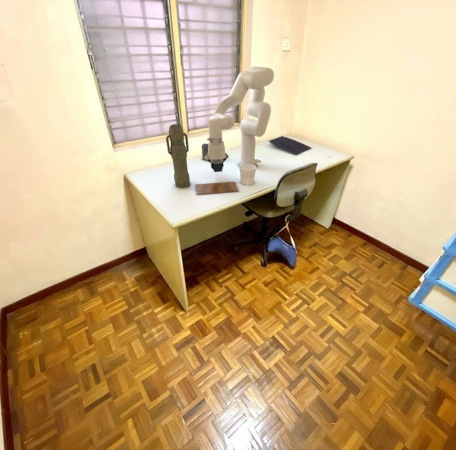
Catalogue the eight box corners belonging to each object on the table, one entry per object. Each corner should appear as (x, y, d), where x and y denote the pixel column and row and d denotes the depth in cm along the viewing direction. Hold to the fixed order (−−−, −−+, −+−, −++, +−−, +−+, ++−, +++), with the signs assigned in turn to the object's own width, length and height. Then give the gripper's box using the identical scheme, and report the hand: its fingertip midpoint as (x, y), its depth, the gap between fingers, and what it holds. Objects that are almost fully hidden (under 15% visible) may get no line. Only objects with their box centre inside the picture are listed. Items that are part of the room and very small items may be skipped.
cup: (254, 186, 153) (255, 171, 147) (238, 185, 154) (238, 170, 148) (256, 179, 161) (257, 164, 155) (240, 178, 162) (241, 163, 156)
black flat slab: (282, 138, 226) (283, 134, 223) (311, 150, 211) (312, 146, 209) (265, 144, 212) (266, 140, 209) (295, 158, 197) (296, 154, 195)
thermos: (170, 184, 153) (161, 125, 133) (187, 179, 159) (181, 121, 139) (177, 190, 148) (168, 129, 127) (194, 184, 154) (189, 125, 133)
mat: (234, 182, 157) (234, 181, 157) (238, 191, 147) (238, 190, 147) (196, 185, 153) (195, 184, 153) (197, 194, 144) (197, 193, 143)
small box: (217, 157, 191) (217, 143, 185) (216, 160, 185) (215, 146, 179) (204, 156, 191) (203, 143, 185) (202, 159, 186) (201, 145, 180)
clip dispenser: (220, 166, 162) (220, 157, 158) (222, 171, 156) (221, 162, 152) (212, 166, 161) (212, 158, 158) (214, 172, 155) (213, 163, 151)
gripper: (201, 142, 143) (204, 172, 154) (231, 140, 146) (231, 169, 157) (200, 138, 149) (203, 167, 160) (229, 136, 151) (229, 165, 162)
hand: (217, 168), depth 158 cm, fingers closed on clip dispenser, 5 cm apart
